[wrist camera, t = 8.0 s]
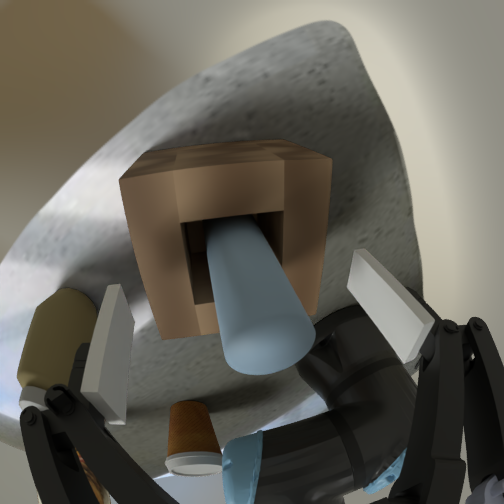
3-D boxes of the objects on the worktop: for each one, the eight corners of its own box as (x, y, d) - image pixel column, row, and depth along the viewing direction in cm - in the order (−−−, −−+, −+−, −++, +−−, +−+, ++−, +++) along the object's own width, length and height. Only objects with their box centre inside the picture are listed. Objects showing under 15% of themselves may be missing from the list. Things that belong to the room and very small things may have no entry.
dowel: (248, 191, 22) (321, 305, 10) (250, 235, 24) (309, 364, 13) (199, 197, 22) (219, 323, 10) (204, 241, 24) (229, 381, 12)
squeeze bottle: (56, 329, 27) (23, 457, 12) (37, 276, 23) (-26, 415, 8) (112, 333, 29) (96, 475, 14) (98, 279, 25) (56, 443, 10)
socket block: (283, 139, 23) (332, 159, 15) (281, 256, 29) (315, 314, 21) (143, 152, 21) (118, 179, 13) (165, 273, 27) (162, 340, 19)
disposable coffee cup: (227, 403, 41) (241, 465, 31) (196, 423, 44) (205, 479, 34) (179, 389, 37) (186, 460, 27) (151, 411, 39) (154, 473, 29)
